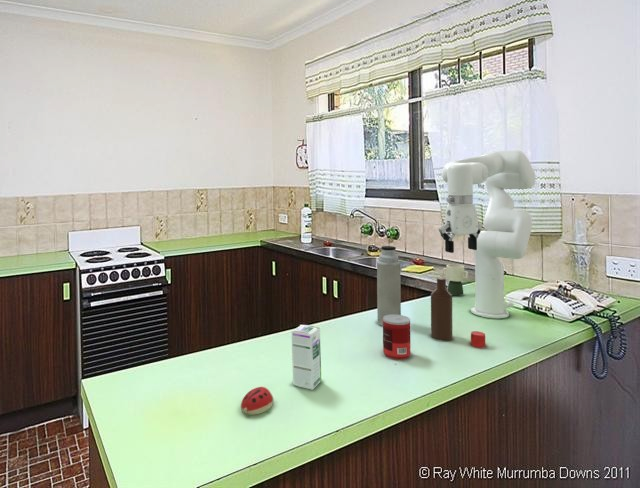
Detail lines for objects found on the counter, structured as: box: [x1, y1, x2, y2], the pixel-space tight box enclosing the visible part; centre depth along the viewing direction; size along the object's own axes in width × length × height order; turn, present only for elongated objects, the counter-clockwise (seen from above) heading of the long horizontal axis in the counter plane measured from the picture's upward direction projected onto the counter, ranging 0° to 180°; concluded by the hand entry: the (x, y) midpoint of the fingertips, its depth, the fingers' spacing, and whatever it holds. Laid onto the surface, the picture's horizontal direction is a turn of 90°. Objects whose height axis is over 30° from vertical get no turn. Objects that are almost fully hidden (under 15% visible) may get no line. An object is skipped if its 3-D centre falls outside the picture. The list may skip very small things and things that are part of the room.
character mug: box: [442, 263, 469, 296], centre depth 193 cm, size 11×7×13 cm, turn 37°
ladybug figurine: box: [240, 386, 274, 416], centre depth 104 cm, size 7×10×4 cm
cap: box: [470, 330, 486, 349], centre depth 138 cm, size 4×4×4 cm
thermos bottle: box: [376, 245, 402, 327], centre depth 159 cm, size 8×8×28 cm
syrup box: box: [291, 324, 322, 391], centre depth 115 cm, size 6×6×14 cm
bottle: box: [430, 277, 453, 342], centre depth 145 cm, size 6×6×20 cm
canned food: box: [382, 314, 411, 360], centre depth 132 cm, size 8×8×11 cm
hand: (461, 250), depth 149 cm, fingers open, 9 cm apart
